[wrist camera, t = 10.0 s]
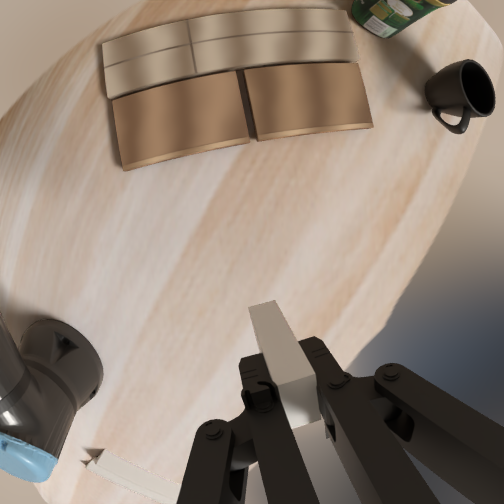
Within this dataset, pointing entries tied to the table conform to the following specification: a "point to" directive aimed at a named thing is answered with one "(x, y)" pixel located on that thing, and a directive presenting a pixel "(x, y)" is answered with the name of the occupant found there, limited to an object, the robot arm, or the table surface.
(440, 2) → the coffee jar
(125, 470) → the crown molding
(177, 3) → the table surface
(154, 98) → the plank
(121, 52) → the laid row
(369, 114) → the plank
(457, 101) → the mug
